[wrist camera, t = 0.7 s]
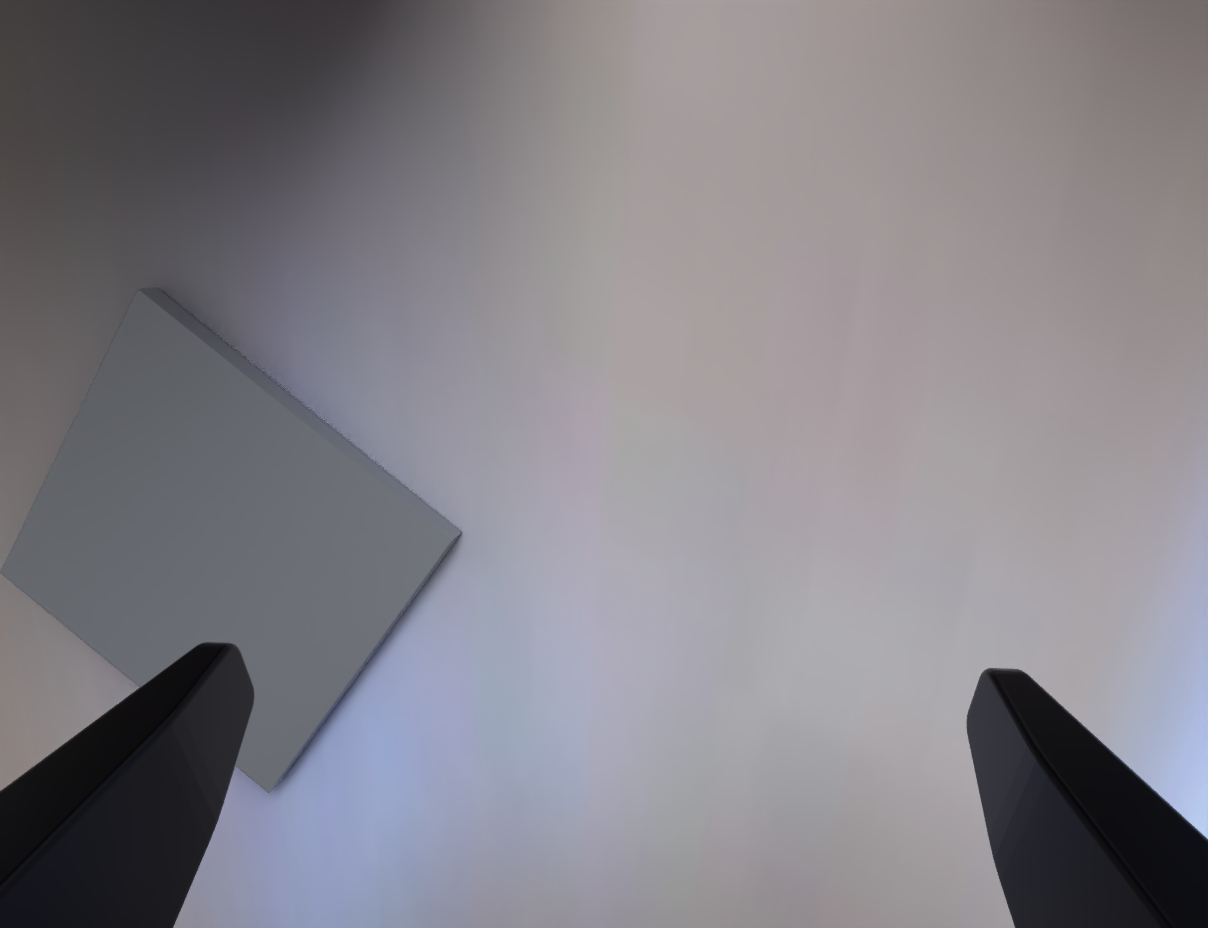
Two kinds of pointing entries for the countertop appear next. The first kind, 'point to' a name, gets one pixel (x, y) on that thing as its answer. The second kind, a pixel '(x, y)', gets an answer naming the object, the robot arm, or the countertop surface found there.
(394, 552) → the plate
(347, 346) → the countertop surface
